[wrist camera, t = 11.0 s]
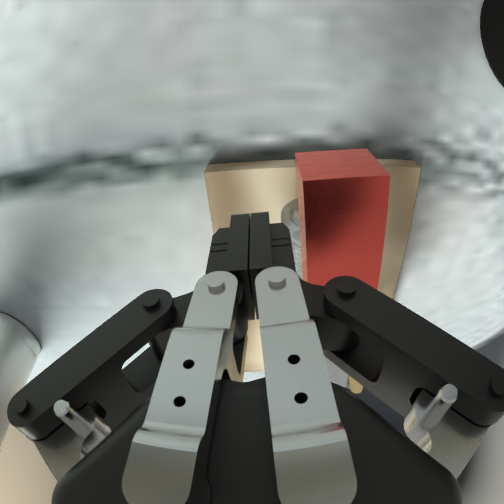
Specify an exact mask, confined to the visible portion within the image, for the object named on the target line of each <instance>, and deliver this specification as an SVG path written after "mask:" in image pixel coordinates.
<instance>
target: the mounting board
mask: <svg viewBox="0 0 504 504" xmlns="http://www.w3.org/2000/svg"><path fill="white" fill-rule="evenodd" d="M377 160H378V162H379V163H380V164H381V165H382V166H383V167H384V169H385V170H386V171H387V172H388V173H389V174H390V188H389V201H388V212H387V222H386V231H385V240H384V248H383V256H382V263H381V270H380V277H379V283H378V289H377V290H378V291H380V292H382V293H383V294H385V295H387V296H388V297H390V298H392V299H393V296H394V292H395V289H396V285H397V281H398V278H399V274H400V270H401V266H402V262H403V258H404V254H405V250H406V245H407V241H408V237H409V232H410V227H411V222H412V218H413V212H414V207H415V202H416V196H417V191H418V185H419V178H420V172H421V167H420V166H419V165H418V164H417V163H415V162H414V161H413V160H399V159H377ZM204 174H205V181H206V188H207V194H208V201H209V207H210V213H211V220H212V226H213V232H214V234H215V233H216V232H217V230H218V229H219V228H228V227H230V220H231V215H236V214H247V213H249V214H251V213H257V212H268V211H269V220H270V224H272V223H281V211H282V209H283V207H284V206H285V205H286V204H287V203H289V202H290V201H292V200H294V199H297V198H298V190H297V176H296V164H295V159H290V160H267V161H249V162H234V163H220V164H208V165H207V167H206V170H205V172H204ZM247 335H248V341H247V350H246V358H245V367H244V372H263V371H265V370H264V362H263V353H262V344H261V335H260V322H259V320H257V319H256V312H255V320H248V331H247Z"/></svg>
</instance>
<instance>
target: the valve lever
mask: <svg viewBox="0 0 504 504" xmlns="http://www.w3.org/2000/svg"><path fill="white" fill-rule="evenodd" d="M295 164H296V176H297V190H298V204H299V219H300V236H301V255H302V276H303V280H304V281H306V282H308V283H311V284H315V285H321V286H325V284H326V283H327V282H328V281H329V280H331V279H332V278H335V277H338V276H352V277H355V278H358V279H360V280H362V281H363V282H365V283H367V284H368V285H370V286H372V287H373V288H375V289H378V283H379V277H380V270H381V263H382V256H383V248H384V240H385V231H386V222H387V212H388V201H389V188H390V174H389V173H388V172H387V171H386V170H385V169H384V167H383V166H382V165H381V164H380V163H379V162H378V160H377V159H376V158H375V157H374V156H373V155H372V154H371V152H370V151H369V150H368V149H345V150H328V151H313V152H300V153H295ZM324 358H325V362H326V366H327V370H328V374H329V378H330V381H331V382H332V383H335V384H338V385H340V386H343V387H345V388H347V389H348V390H350V391H351V386H350V381H349V376H348V374H347V373H345V372H344V371H343V370H341V369H340V368H339V367H338V366H336V365H335V364H334V363H333V362H331V361H330V360H329V359H327V358H326V357H325V356H324Z"/></svg>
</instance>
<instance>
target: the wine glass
mask: <svg viewBox="0 0 504 504" xmlns="http://www.w3.org/2000/svg"><path fill="white" fill-rule="evenodd" d="M480 29H481V38H482V43H483V48H484V51H485V54H486V57H487V60H488V62H489V65H490V67H491V69H492V71H493V73H494V75H495V76H496V78H497V79H498V81H499V82H500V83H501V85H502V86H503V87H504V0H484V3H483V6H482V11H481V17H480Z"/></svg>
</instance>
